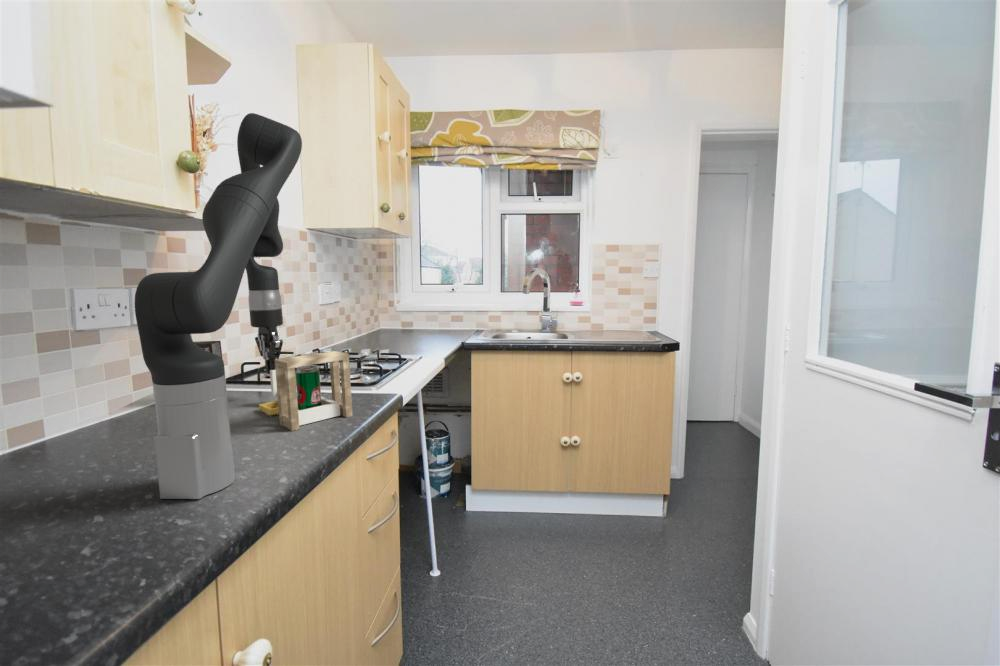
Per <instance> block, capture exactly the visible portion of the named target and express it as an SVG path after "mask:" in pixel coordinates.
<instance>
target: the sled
mask: <svg viewBox="0 0 1000 666" xmlns="http://www.w3.org/2000/svg"><path fill="white" fill-rule="evenodd" d="M269 378H270V387H271V388H270V389H271V392H270V393H271V396H273V397H278V394H277V382H276V370H270V374H269ZM321 402H322V406H317V407H313V408H308V409H304V410H298V417H299V427H300V426H304V425H307V424H311V423H312V424H313V423H315V422H319V421H324V420H328V419H331V418H334V417H335V418H336V417H339V416H341V415H340V403H338V402H335V401H333V400H332V399H330V398H327V397H324V396H321ZM297 404H298V400H297Z"/></svg>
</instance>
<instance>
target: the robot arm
mask: <svg viewBox="0 0 1000 666" xmlns="http://www.w3.org/2000/svg"><path fill="white" fill-rule="evenodd" d="M236 139H237V140H236V141H237V142H236V146H237V154H238V155H237V156H238V162H239V166H240V167H239V168H240V173H237V174H235V175H232V176H230V177H228V178H226V179H224V180H222V181H221V182H220V183H219V184H218V185H217V186H216V187H215V189H214V191H213V192H212V194H211V196H210V198H209V199H208V201H207V202H206V204H205V206H204V208H203V211H202V217H201V219H202V224H203V225H202V226H203V228H204V230H205V234H206V237H207V240H208V242H209V245H210V251H209V253H208V256H207V257H206V259H205V261H204V263H203V264H202V266H201V267H199V268H198V269H197V270H195V271H179V272H178V271H173V272H171V271H169V272H167V271H166V272H154V273H150V274H148V275H146V276H144V277H142V279H141V280H140V281H139V282H138V285H137V287H136V290H135V294H134V314H135V319H136V325H137V326H136V327H137V330H138V335H139V336H138V337H139V341H140V346H141V352H142V358H143V361H144V364H145V366H146V368H147V369H148V370H149V372H150V374H151V381H152V382H151V383H152V389H153V397H154V406H155V415H156V425H157V435H155V436H154V438H153V447H154V456H155V457H154V458H155V463H156V472H157V481H158V488H159V489H158V490H159V497H160V499H161V500H163V499H164V500H166V499H167V500H173V499H174V500H201V499H202V498H204V497H206V496H207V495H210V494H213V493H217V492H219V491H221V490H223V489H225V488H226V487H229V486H230V485H232V484H233V483H234V481H235V479H236V477H235V476H236V475H235V467H234V465H235V463H234V455H233V454H234V453H233V446H232V445H233V443H232V435H231V425H230V415H229V414H230V413H229V403H228V402H229V401H228V393H227V392H228V391H227V380H226V371H225V363H224V362H225V361H224V359H223V357H222V358H221V357H220V356H218V355H216V354H213V353H210V352H208V351H205V350H203V349H202V348H200V347H199V346H197V345H196V344H195V343H194V342H195V341H194V340H193V338H192V336H191V335H201V334H211V333H214V332H217V331H219V330H220V329H221V328H223V327H224V325H225V324H226V323H227V321H228V320H229V318H230V315H231V313H232V311H233V308H234V306H235V302H236V299H237V297H238V292H239V289H240V286H241V284H242V279H243V277H244V273H245V272H246V276H247V277H246V278H247V285H248V311H249V321H250V326H251V327H252V328H258V330H257V336H256V337H254V339H255V343H256V346H257V348H258V352H259V355H260V357H262V358H263V359H262V360H264V363H265V364H264V365H265V373H266V374H267V375H270V370H275V359H279V358H280V356H281V352H282V348H283V344H284V341H283V339H279V338H280V335H279V332H278V329H277V327H281V326H282V325H284V318H283V307H282V296H281V292H280V285H279V284H280V283H279V274H278V270H277V269H276V268H275V267H272V266H269V265H268V266H267V265H262V264H259V263H258V262H257V261H256V260H255V258H275V257H278V256H280V255H281V254H282V252H283V251H284V241H283V238H282V236H281V233H280V229H279V215H280V203H279V202H280V201H279V199H278V196H279V195H280V192H281V190H282V189H283V187H284V185H285V183H286V182H287V180H288V178H289V177H290V175H291V173H293V170H294V168H295V166H296V165H297V163H298V161H299V159H300V155H301V153H302V149H303V140H302V137H301V134H300V133H299V132H298V131H297V130H296V129H295V128H292V127H290V126H289V125H286V124H283V123H281V122H278V121H276V120H273V119H272V118H269V117H265V116H264V115H261V114H259V113H253V112H250V113H247V114H246V115H245V116H244V117H243V119H242V121H241V122H240V125H239V128H238V131H237V137H236Z"/></svg>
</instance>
